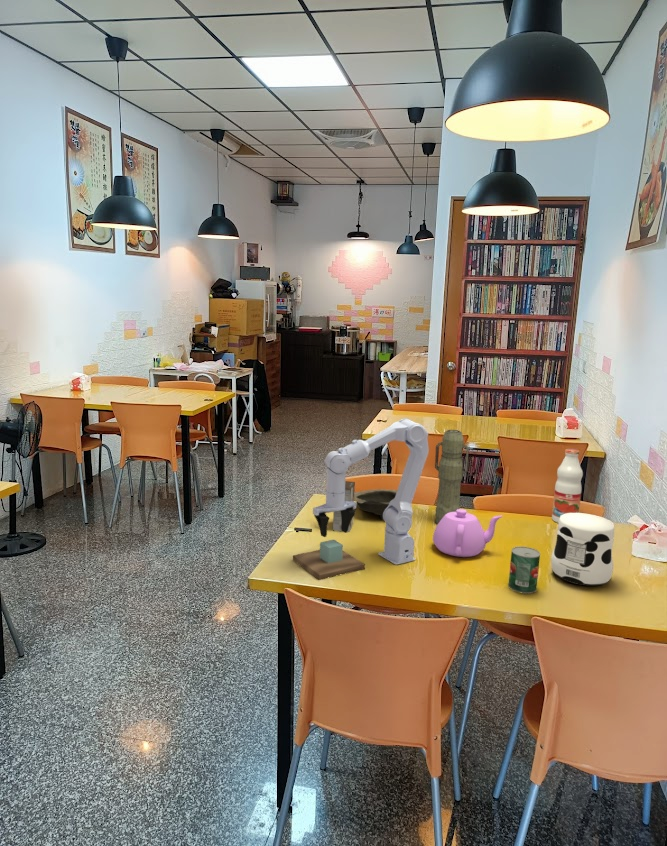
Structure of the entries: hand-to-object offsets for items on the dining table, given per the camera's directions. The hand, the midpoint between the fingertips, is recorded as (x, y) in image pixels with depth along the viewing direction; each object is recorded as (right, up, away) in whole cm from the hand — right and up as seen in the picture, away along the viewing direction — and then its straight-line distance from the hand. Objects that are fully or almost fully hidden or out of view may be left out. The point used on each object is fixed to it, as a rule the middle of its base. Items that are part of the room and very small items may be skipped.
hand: (334, 533), depth 189 cm
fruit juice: (+88, -4, +48) cm, 101 cm away
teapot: (+43, -9, +15) cm, 47 cm away
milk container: (+74, -13, -3) cm, 75 cm away
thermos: (+42, -4, +41) cm, 59 cm away
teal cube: (-1, -8, +1) cm, 8 cm away
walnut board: (-2, -9, 0) cm, 10 cm away
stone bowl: (+18, -1, +50) cm, 53 cm away
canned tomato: (+54, -14, -11) cm, 57 cm away
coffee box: (+3, -4, +33) cm, 33 cm away
